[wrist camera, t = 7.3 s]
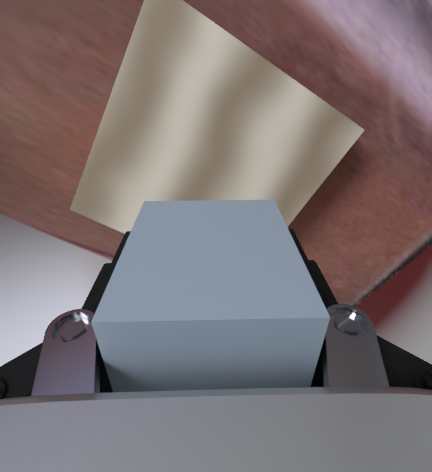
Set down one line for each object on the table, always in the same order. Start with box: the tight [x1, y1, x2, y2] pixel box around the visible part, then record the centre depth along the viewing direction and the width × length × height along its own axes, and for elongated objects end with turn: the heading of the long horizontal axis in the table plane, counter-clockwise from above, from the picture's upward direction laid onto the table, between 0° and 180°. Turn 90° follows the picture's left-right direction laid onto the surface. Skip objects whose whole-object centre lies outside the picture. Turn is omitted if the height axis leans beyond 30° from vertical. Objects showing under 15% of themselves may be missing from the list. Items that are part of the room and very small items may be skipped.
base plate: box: [70, 0, 364, 234], centre depth 23 cm, size 16×16×4 cm
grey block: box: [91, 200, 330, 392], centre depth 10 cm, size 5×5×6 cm
